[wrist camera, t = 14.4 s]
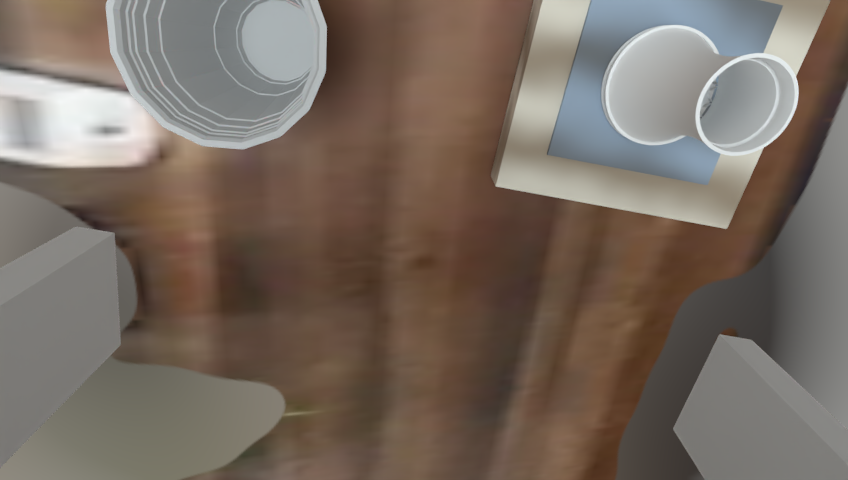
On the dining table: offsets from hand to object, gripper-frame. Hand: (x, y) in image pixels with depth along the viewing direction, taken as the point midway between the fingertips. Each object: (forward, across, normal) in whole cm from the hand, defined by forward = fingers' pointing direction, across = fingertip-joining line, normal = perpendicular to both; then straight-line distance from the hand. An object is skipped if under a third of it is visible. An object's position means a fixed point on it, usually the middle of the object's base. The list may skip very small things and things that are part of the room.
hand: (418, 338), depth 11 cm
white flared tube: (+26, -15, -6) cm, 30 cm away
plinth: (+29, -15, -6) cm, 33 cm away
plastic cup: (+29, +11, -4) cm, 31 cm away
